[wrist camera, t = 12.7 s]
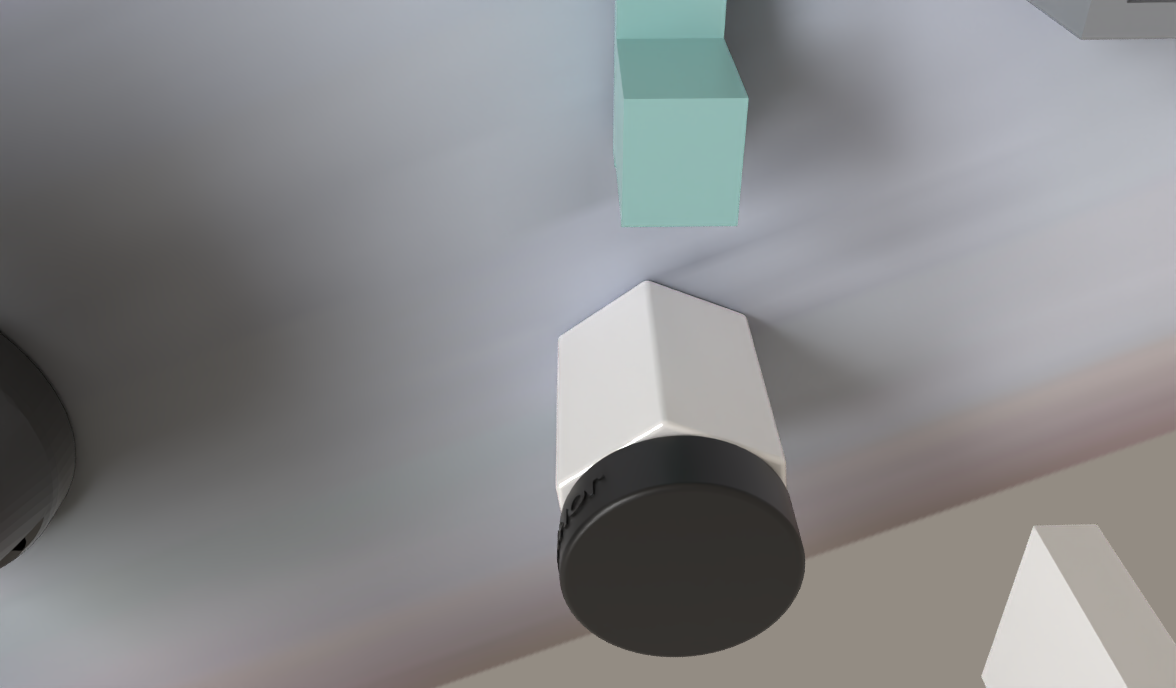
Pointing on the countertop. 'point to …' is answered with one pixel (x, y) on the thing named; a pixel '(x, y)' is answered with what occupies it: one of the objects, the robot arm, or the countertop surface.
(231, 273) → the countertop surface
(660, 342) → the jar
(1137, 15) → the tub
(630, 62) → the teal t-shaped block
